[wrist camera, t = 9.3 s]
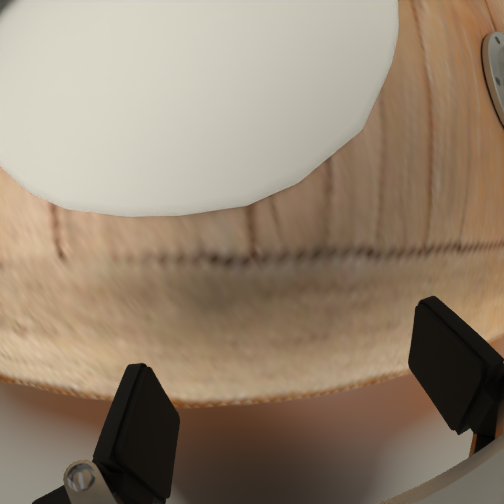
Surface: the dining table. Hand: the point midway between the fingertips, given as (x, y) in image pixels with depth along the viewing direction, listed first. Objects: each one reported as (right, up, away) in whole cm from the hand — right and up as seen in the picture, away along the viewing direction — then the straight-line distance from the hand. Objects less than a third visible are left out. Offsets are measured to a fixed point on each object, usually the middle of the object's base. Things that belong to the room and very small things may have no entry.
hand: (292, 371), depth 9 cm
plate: (-6, +20, +3) cm, 21 cm away
